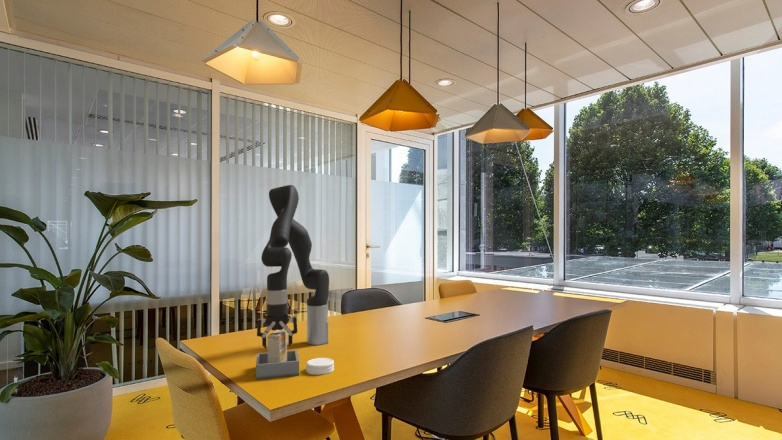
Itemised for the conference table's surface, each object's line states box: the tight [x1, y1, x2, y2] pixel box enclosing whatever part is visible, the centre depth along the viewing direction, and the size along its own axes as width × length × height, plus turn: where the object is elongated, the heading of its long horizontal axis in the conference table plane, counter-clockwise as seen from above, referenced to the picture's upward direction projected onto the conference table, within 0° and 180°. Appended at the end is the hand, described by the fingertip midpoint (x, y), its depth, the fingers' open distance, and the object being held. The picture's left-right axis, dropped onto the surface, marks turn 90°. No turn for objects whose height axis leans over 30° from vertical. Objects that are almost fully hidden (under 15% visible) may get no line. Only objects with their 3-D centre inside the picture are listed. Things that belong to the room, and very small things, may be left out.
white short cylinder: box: [305, 357, 335, 376], centre depth 158 cm, size 10×10×4 cm
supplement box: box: [266, 330, 288, 363], centre depth 159 cm, size 8×5×13 cm, turn 175°
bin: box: [255, 349, 300, 381], centre depth 158 cm, size 15×15×5 cm
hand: (277, 346), depth 158 cm, fingers open, 8 cm apart
